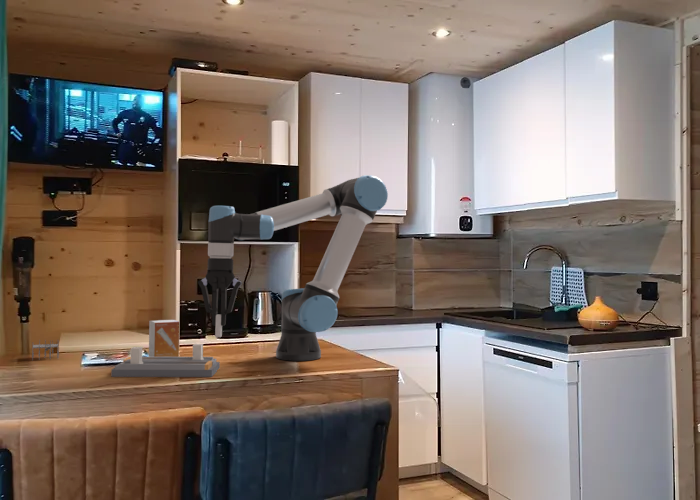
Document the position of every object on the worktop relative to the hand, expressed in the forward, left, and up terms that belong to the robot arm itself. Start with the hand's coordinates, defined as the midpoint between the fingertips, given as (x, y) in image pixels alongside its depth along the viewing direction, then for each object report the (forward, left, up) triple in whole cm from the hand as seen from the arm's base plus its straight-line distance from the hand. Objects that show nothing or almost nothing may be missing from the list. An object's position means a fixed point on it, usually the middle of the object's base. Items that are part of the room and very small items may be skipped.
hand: (218, 336), depth 186 cm
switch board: (+14, +3, -10) cm, 18 cm away
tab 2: (+6, 0, -8) cm, 10 cm away
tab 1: (+22, +7, -8) cm, 24 cm away
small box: (+20, -16, -10) cm, 28 cm away
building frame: (+59, -20, -11) cm, 63 cm away
